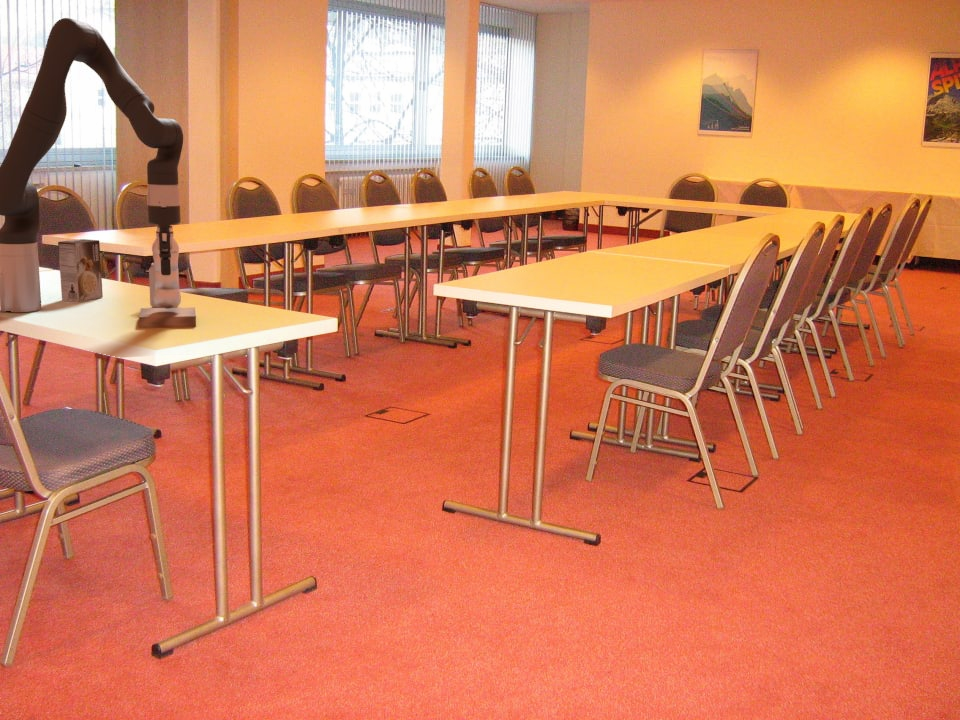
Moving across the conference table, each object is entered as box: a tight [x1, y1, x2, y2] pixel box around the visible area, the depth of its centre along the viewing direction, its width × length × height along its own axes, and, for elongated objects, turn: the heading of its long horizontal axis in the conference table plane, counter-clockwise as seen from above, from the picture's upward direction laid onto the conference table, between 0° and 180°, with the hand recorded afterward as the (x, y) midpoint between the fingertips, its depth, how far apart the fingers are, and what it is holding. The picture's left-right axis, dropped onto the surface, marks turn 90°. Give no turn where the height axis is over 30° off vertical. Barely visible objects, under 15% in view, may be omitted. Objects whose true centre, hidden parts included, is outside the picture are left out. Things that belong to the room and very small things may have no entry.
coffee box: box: [57, 238, 104, 303], centre depth 273 cm, size 9×6×16 cm
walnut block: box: [138, 307, 197, 328], centre depth 245 cm, size 13×13×2 cm
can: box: [148, 262, 181, 308], centre depth 264 cm, size 8×8×12 cm
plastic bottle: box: [151, 225, 182, 309], centre depth 242 cm, size 6×7×20 cm
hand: (166, 272), depth 243 cm, fingers closed on plastic bottle, 6 cm apart
